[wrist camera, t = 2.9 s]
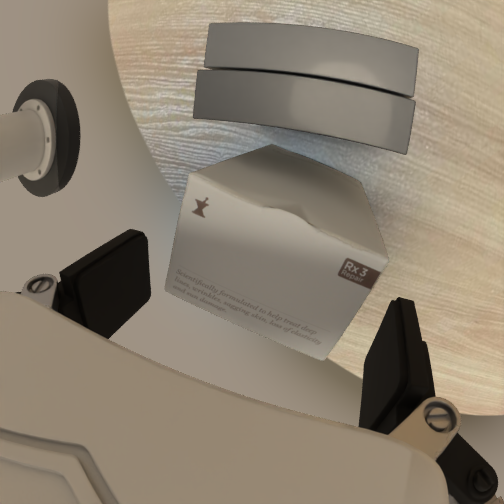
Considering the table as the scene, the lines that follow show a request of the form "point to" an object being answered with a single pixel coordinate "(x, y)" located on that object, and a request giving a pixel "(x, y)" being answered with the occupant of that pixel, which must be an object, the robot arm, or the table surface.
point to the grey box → (309, 82)
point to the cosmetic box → (277, 247)
